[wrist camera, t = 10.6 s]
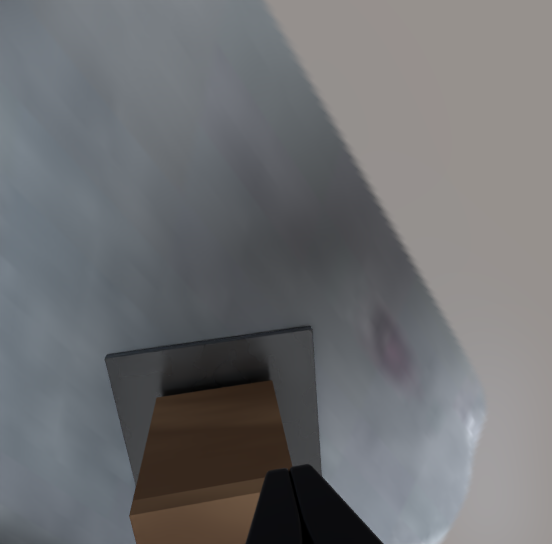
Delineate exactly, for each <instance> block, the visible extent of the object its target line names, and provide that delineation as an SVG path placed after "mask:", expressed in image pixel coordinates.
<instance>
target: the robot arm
mask: <svg viewBox="0 0 552 544" xmlns="http://www.w3.org/2000/svg"><path fill="white" fill-rule="evenodd" d="M245 544H383V543H382V541H381V540H380V539H379V538H378V537H377V536H376V535H375V534H374V533H373V532H372V531H371V530H370V528H369V527H368V526H367V525H366V524H365V523H364V522H363V521H362V520H361V519H360V518H359V516H358V515H357V514H356V513H355V512H354V511H353V510H352V509H351V508H350V507H349V506H348V504H347V503H346V502H345V501H344V500H343V499H342V498H341V497H340V496H339V495H338V494H337V492H336V491H335V490H334V489H333V488H332V487H331V486H330V485H329V484H328V483H327V482H326V481H325V479H324V478H323V477H322V476H321V475H320V474H319V473H318V472H317V471H316V470H315V469H314V467H313V466H312V465H310V464H303V465H298V466H292V467H291V468H290V469H289V470H288V469H287V468H281V469H275V470H270V471H268V472H267V473H266V475H265V479H264V482H263V485H262V489H261V492H260V496H259V499H258V502H257V506H256V509H255V513H254V516H253V519H252V523H251V526H250V530H249V533H248V537H247V540H246V543H245Z"/></svg>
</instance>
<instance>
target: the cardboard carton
mask: <svg viewBox="0 0 552 544" xmlns="http://www.w3.org/2000/svg"><path fill="white" fill-rule="evenodd" d="M291 467H292V462H291V458H290V454H289V450H288V445H287V441H286V437H285V433H284V429H283V424H282V420H281V416H280V412H279V407H278V403H277V399H276V395H275V390H274V386H273V382H272V380H270V381H263V382H256V383H250V384H243V385H237V386H230V387H223V388H217V389H210V390H203V391H197V392H190V393H184V394H177V395H170V396H164V397H157V398H156V402H155V406H154V411H153V415H152V419H151V424H150V428H149V433H148V437H147V441H146V446H145V450H144V454H143V459H142V463H141V467H140V472H139V476H138V480H137V485H136V489H135V493H134V498H133V502H132V506H131V511H130V515H129V516H130V520H131V524H132V528H133V532H134V536H135V540H136V544H245V543H246V540H247V537H248V533H249V530H250V526H251V523H252V519H253V516H254V513H255V509H256V506H257V502H258V499H259V496H260V492H261V489H262V485H263V482H264V479H265V475H266V473H267V472H268V471H270V470H275V469H281V468H287V469H288V470H289V469H290V468H291Z"/></svg>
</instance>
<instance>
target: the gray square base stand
mask: <svg viewBox="0 0 552 544" xmlns="http://www.w3.org/2000/svg"><path fill="white" fill-rule="evenodd" d="M105 362H106V366H107V370H108V374H109V378H110V382H111V386H112V391H113V395H114V399H115V403H116V407H117V411H118V415H119V419H120V423H121V427H122V431H123V435H124V440H125V444H126V448H127V452H128V456H129V460H130V464H131V468H132V472H133V476H134V480H135V485H137V480H138V476H139V472H140V467H141V463H142V459H143V454H144V450H145V446H146V441H147V437H148V433H149V428H150V424H151V419H152V415H153V411H154V406H155V402H156V398H157V397H164V396H170V395H177V394H184V393H190V392H197V391H203V390H210V389H217V388H223V387H230V386H237V385H243V384H250V383H256V382H263V381H270V380H272V382H273V386H274V390H275V395H276V399H277V403H278V407H279V412H280V416H281V420H282V424H283V429H284V433H285V437H286V441H287V445H288V450H289V454H290V458H291V462H292V466H298V465H303V464H310V465H312V466H313V467H314V469H315V470H316V471H317V472H318V473H319V474H320V475H321V476H322V474H321V458H320V443H319V427H318V412H317V396H316V381H315V365H314V350H313V334H312V328H311V326H308V327H301V328H293V329H286V330H279V331H272V332H265V333H258V334H251V335H244V336H237V337H230V338H222V339H215V340H208V341H201V342H194V343H187V344H180V345H173V346H166V347H159V348H151V349H144V350H137V351H130V352H123V353H116V354H109V355H107V356H106V357H105Z"/></svg>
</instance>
